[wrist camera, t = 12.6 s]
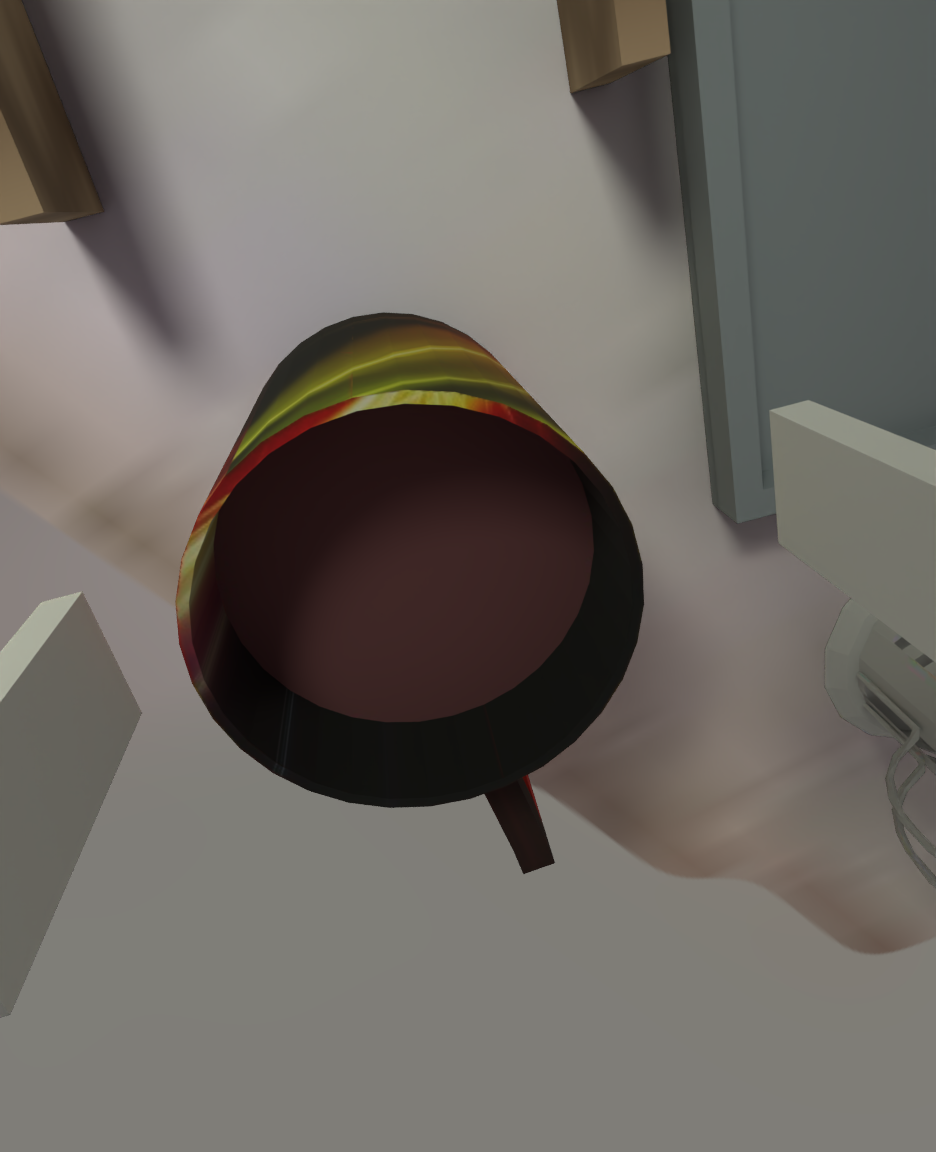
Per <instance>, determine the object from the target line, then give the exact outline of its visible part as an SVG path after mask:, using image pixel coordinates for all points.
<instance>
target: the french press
mask: <svg viewBox="0 0 936 1152" xmlns="http://www.w3.org/2000/svg"><path fill="white" fill-rule="evenodd" d="M825 689H826V690H827V692H828V694H829V696H830V698H831V700H832V702H833V704H834V705H835V707H836V709H837V711H838V713H839V715H840V717H841V718H843V719H845V720H846V721H848V722H850V723H851V724H853V725H854V726H856V727H858V728H859V729H861V730H862V731H864V732H866V733H867V734H869V735H875V736H884V737H893V738H895V739H896V740H897V741H898V742H899V743H900V744H901V745H902V746H901V747H900V748H899V749H898V750H897V751H896V752H895V753H894V754H893V756H892V759H891V762H890V765H889V768H888V772H887V775H886V778H885V779H886V785H887V791H888V797H889V800H890V802H891V804H892V806H893V808H892V813H893V818H894V824H895V829H896V833H897V835H898V837H899V839H900V841H901V843H902V845H903V847H904V849H905V851H906V853H907V854H908V855H909V857H910V858H911V859H912V861H913V862H914V863H915V865H916V866H917V867H918V869H919V870H920V871H921V872H922V874H923V875H924V876H925V878H926V879H927V880H928V882H929V883H930V884H931V885H933V886H934V887H935V888H936V876H935V875H934V874H933V873H932V872H931V871H930V870H929V868H928V867H927V866H926V865H925V864H924V863H923V862H922V860H921V859H920V858H919V857H918V856H917V855H916V854H915V852H914V851H913V849H912V847H911V844H910V842H909V840H908V838H907V836H906V834H905V831H904V826H905V827H906V828H907V830H908V831H909V832H910V833H911V834H912V835H913V836H914V837H915V838H916V839H917V840H918V841H919V843H920V844H921V845H922V846H923V847H924V848H925V849H926V850H927V851H928V852H929V853H931V854H932V855H933V856H934V857H936V848H935V847H934V846H933V845H932V844H931V843H930V842H929V841H928V840H927V839H926V838H925V837H924V835H923V834H922V833H921V832H920V831H919V830H918V829H917V828H916V827H915V825H914V824H913V823H912V822H911V821H910V819H909V818H908V817H907V816H906V814H905V813H904V812H903V810H902V805H903V802H904V799H905V796H906V793H907V792H908V790H909V789H910V788H911V787H912V786H913V785H914V784H915V783H916V782H917V780H918V779H919V778H920V777H921V776H922V775H923V774H924V773H925V765H926V766H927V767H928V768H929V769H930V770H931V771H932V772H933V773H934V774H935V775H936V758H934V757H931V756H929V755H926V754H924V753H923V752H922V751H921V750H920V749H919V748H922V749H924V750H927V751H929V752H932V753H935V754H936V663H935V662H934V661H933V660H931V659H930V658H929V657H928V656H926V655H925V654H924V653H922V652H921V651H920V650H918V649H917V648H916V647H914V646H913V645H912V644H910V643H909V642H908V641H907V640H905V639H904V638H903V637H901V636H900V635H899V634H897V633H896V632H895V631H893V630H892V629H891V628H889V627H888V626H887V625H886V624H884V623H883V622H882V621H880V620H879V619H878V618H876V617H875V616H874V615H872V614H871V613H870V612H868V611H867V610H866V609H865V608H863V607H862V606H861V605H859V604H858V603H857V602H855V601H854V600H853V599H850V600H849V601H848V602H847V603H846V605H845V606H844V607H843V608H842V611H841V613H840V615H839V618H838V620H837V622H836V625H835V627H834V629H833V632H832V634H831V636H830V639H829V641H828V643H827V645H826V648H825ZM918 747H919V748H918ZM907 752H909V753H910V754H911V755H912V756H913V757H914V758H915V759H916V760H917V762H918V763H919V766H918V767H917V768H916V769H915V770H914V771H913V773H912V774H911V775H910V776H909V777H908V778H907V780H906V781H905V782H904V783H903V784H902V786H901V787H900V788H899V790H898V793H897V790H896V786H895V782H894V778H893V776H894V773H895V769H896V767H897V764H898V762H899V760H900V759H901V758H902V757H903V756H904V755H905V754H906V753H907ZM903 825H904V826H903Z"/></svg>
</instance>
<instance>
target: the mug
mask: <svg viewBox="0 0 936 1152" xmlns="http://www.w3.org/2000/svg"><path fill="white" fill-rule="evenodd" d="M643 606H644V594H643V567H642V561H641V557H640V553H639V549H638V545H637V541H636V538H635V534H634V530H633V526H632V523H631V521H630V520H629V518H628V516H627V514H626V512H625V510H624V508H623V506H622V504H621V502H620V500H619V498H618V496H617V494H616V492H615V490H614V489H613V487H612V486H611V484H610V483H609V482H608V481H607V480H606V478H605V477H604V476H603V475H602V474H601V472H600V471H599V470H598V469H597V468H596V466H595V465H594V464H593V463H592V462H591V460H590V459H589V458H588V457H587V456H586V455H585V453H584V452H583V451H582V450H581V449H580V448H579V447H578V446H577V445H576V444H575V443H574V442H573V441H572V439H571V438H570V437H569V436H568V435H567V434H566V433H565V432H564V431H563V430H562V429H561V428H560V427H559V426H558V425H557V424H556V422H555V421H554V420H553V419H552V418H551V417H550V416H549V415H548V414H547V413H546V412H545V411H544V410H543V409H542V408H541V406H540V405H539V404H538V403H537V402H536V401H535V400H534V399H533V398H532V397H531V396H530V395H529V394H528V393H527V392H526V391H525V389H524V388H523V387H522V386H521V385H520V384H519V383H518V382H517V381H516V380H515V379H514V378H513V377H512V376H511V375H510V373H509V372H508V371H507V370H506V369H505V368H504V367H503V366H502V365H501V364H500V363H499V362H498V361H497V360H496V359H495V358H494V356H493V355H492V354H491V353H490V352H488V351H487V350H486V349H485V348H483V347H482V346H481V345H480V344H478V343H477V342H476V341H474V340H473V339H472V338H471V337H469V336H468V335H467V334H465V333H463V332H461V331H459V330H457V329H454V328H452V327H450V326H448V325H446V324H444V323H442V322H440V321H436V320H432V319H429V318H425V317H421V316H417V315H413V314H399V313H377V314H370V315H364V316H357V317H352V318H349V319H347V320H344V321H341V322H339V323H336V324H333V325H330V326H328V327H325V328H324V329H322V330H320V331H319V332H317V333H316V334H314V335H312V336H311V337H309V338H308V339H306V340H305V341H303V342H301V343H300V344H299V345H298V346H297V347H296V348H295V349H294V350H293V351H292V352H291V353H290V354H289V355H288V356H287V357H286V358H285V359H284V360H283V361H282V362H281V363H279V365H278V366H277V368H276V369H275V371H274V372H273V374H272V375H271V377H270V378H269V380H268V381H267V383H266V385H265V386H264V388H263V389H262V391H261V393H260V395H259V397H258V399H257V401H256V403H255V405H254V407H253V409H252V411H251V413H250V415H249V417H248V419H247V421H246V423H245V425H244V427H243V429H242V431H241V433H240V435H239V437H238V439H237V441H236V442H235V444H234V446H233V448H232V450H231V452H230V454H229V456H228V458H227V460H226V462H225V464H224V466H223V468H222V470H221V472H220V474H219V476H218V478H217V480H216V482H215V484H214V486H213V488H212V490H211V492H210V494H209V496H208V498H207V499H206V501H205V503H204V505H203V507H202V509H201V511H200V513H199V515H198V517H197V520H196V523H195V525H194V528H193V530H192V533H191V536H190V538H189V541H188V543H187V546H186V549H185V551H184V554H183V556H182V559H181V566H180V573H179V581H178V588H177V595H176V613H177V624H178V635H179V645H180V648H181V651H182V654H183V657H184V660H185V663H186V666H187V669H188V672H189V675H190V678H191V681H192V684H193V686H194V687H195V689H196V691H197V692H198V694H199V696H200V698H201V699H202V701H203V703H204V704H205V706H206V707H207V709H208V711H209V713H210V715H211V716H212V718H213V719H214V720H215V721H216V723H217V724H218V725H219V726H220V727H221V728H222V729H223V730H224V731H225V732H226V733H227V735H228V736H229V737H230V738H231V739H232V740H233V741H234V742H235V743H236V745H237V746H238V747H239V748H240V749H241V750H243V751H244V752H246V753H247V754H248V755H249V756H251V757H252V758H254V759H255V760H256V761H258V762H259V763H260V764H262V765H263V766H264V767H266V768H267V769H268V770H270V771H271V772H272V773H274V774H276V775H278V776H280V777H282V778H284V779H286V780H288V781H290V782H292V783H294V784H296V785H298V786H300V787H302V788H304V789H306V790H309V791H311V792H315V793H318V794H321V795H325V796H329V797H332V798H335V799H338V800H342V801H345V802H348V803H356V804H364V805H372V806H380V807H389V808H391V807H392V808H394V807H424V806H434V805H440V804H445V803H450V802H456V801H461V800H466V799H471V798H474V797H476V796H479V795H482V794H485V796H486V798H487V799H488V802H489V803H490V805H491V807H492V809H493V811H494V813H495V815H496V817H497V819H498V821H499V823H500V825H501V827H502V829H503V831H504V833H505V835H506V837H507V839H508V841H509V842H510V845H511V847H512V849H513V851H514V853H515V855H516V858H517V860H518V862H519V865H520V867H521V869H522V872H523V874H525V873H528V872H531V871H534V870H536V869H539V868H542V867H545V866H548V865H551V864H554V863H555V862H554V859H553V856H552V852H551V849H550V846H549V842H548V839H547V837H546V832H545V829H544V826H543V823H542V819H541V816H540V813H539V810H538V806H537V803H536V800H535V797H534V793H533V790H532V787H531V783H530V780H529V777H528V774H530V773H532V772H533V771H535V770H537V769H539V768H541V767H543V766H544V765H545V764H547V763H548V762H549V761H551V760H552V759H553V758H554V757H556V756H557V755H558V754H560V753H561V752H562V751H564V750H565V749H566V748H567V747H569V746H570V745H571V744H573V743H574V742H575V741H576V740H577V739H578V738H579V737H580V736H581V735H582V733H583V732H584V731H585V730H586V729H587V728H588V727H589V726H590V725H591V724H592V723H593V721H594V720H595V719H596V718H597V717H598V716H599V715H600V714H601V713H602V711H603V710H604V708H605V706H606V705H607V703H608V702H609V700H610V699H611V697H612V695H613V694H614V692H615V691H616V689H617V687H618V686H619V684H620V683H621V681H622V680H623V677H624V675H625V672H626V670H627V667H628V665H629V662H630V659H631V657H632V654H633V652H634V649H635V647H636V644H637V640H638V634H639V629H640V623H641V617H642V612H643Z"/></svg>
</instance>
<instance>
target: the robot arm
mask: <svg viewBox="0 0 936 1152" xmlns="http://www.w3.org/2000/svg"><path fill="white" fill-rule="evenodd" d="M769 414H770V429H771V443H772V458H773V472H774V487H775V501H776V515H777V530H778V543H779V544H781V545H782V546H783V547H784V548H786V549H787V550H788V551H790V552H791V553H792V554H794V555H795V556H796V557H798V558H799V559H800V560H802V561H803V562H804V563H805V564H807V565H808V566H809V567H811V568H812V569H813V570H815V571H816V572H817V573H819V574H820V575H821V576H823V577H824V578H825V579H826V580H828V581H829V582H830V583H832V584H833V585H834V586H836V587H837V588H838V589H840V590H841V591H842V592H844V593H845V594H846V595H847V596H849V597H850V598H851V599H853V600H854V601H855V602H857V603H858V604H859V605H861V606H862V607H863V608H865V609H866V610H867V611H868V612H870V613H871V614H872V615H874V616H875V617H876V618H878V619H879V620H880V621H882V622H883V623H884V624H886V625H887V626H888V627H889V628H891V629H892V630H893V631H895V632H896V633H897V634H899V635H900V636H901V637H903V638H904V639H905V640H907V641H908V642H909V643H910V644H912V645H913V646H914V647H916V648H917V649H918V650H920V651H921V652H922V653H924V654H925V655H926V656H928V657H929V658H930V659H931V660H933V661H934V662H935V663H936V450H934V449H931V448H929V447H926V446H924V445H921V444H919V443H916V442H914V441H911V440H909V439H906V438H904V437H901V436H898V435H896V434H893V433H891V432H888V431H886V430H883V429H881V428H878V427H876V426H873V425H871V424H868V423H866V422H863V421H861V420H858V419H855V418H853V417H850V416H848V415H845V414H843V413H840V412H838V411H835V410H833V409H830V408H828V407H825V406H823V405H820V404H817V403H815V402H812V401H810V400H807V401H803V402H799V403H795V404H791V405H788V406H784V407H780V408H776V409H772V410H769ZM141 714H142V712H141V710H140V708H139V707H138V704H137V702H136V700H135V698H134V696H133V694H132V692H131V690H130V688H129V686H128V684H127V682H126V680H125V678H124V676H123V674H122V672H121V670H120V668H119V666H118V663H117V661H116V659H115V657H114V655H113V654H112V651H111V649H110V647H109V645H108V643H107V641H106V639H105V637H104V635H103V633H102V631H101V629H100V627H99V625H98V623H97V621H96V619H95V617H94V615H93V613H92V611H91V608H90V606H89V605H88V602H87V600H86V598H85V597H84V594H83V592H79V593H75V594H71V595H67V596H63V597H60V598H56V599H52V600H48V601H45V602H41V603H40V605H39V606H38V607H37V608H36V609H35V611H34V612H33V613H32V614H31V615H30V617H29V618H28V619H27V620H26V622H25V623H24V624H23V625H22V626H21V628H20V629H19V630H18V631H17V633H16V634H15V635H14V636H13V637H12V638H11V640H10V641H9V642H8V643H7V644H6V646H5V647H4V648H3V649H2V651H1V652H0V1018H1V1017H4V1016H8V1015H10V1014H11V1012H12V1010H13V1007H14V1005H15V1003H16V1000H17V998H18V996H19V993H20V991H21V989H22V986H23V984H24V982H25V980H26V977H27V975H28V973H29V971H30V968H31V966H32V964H33V961H34V959H35V957H36V954H37V952H38V950H39V948H40V945H41V943H42V941H43V939H44V936H45V934H46V931H47V929H48V927H49V925H50V922H51V920H52V918H53V916H54V913H55V911H56V909H57V906H58V904H59V901H60V900H61V897H62V895H63V892H64V890H65V888H66V886H67V884H68V881H69V879H70V877H71V874H72V872H73V870H74V867H75V865H76V863H77V861H78V858H79V856H80V854H81V851H82V849H83V847H84V845H85V842H86V840H87V837H88V835H89V833H90V831H91V828H92V826H93V824H94V822H95V819H96V817H97V815H98V812H99V810H100V808H101V805H102V803H103V801H104V799H105V796H106V794H107V792H108V790H109V787H110V785H111V783H112V780H113V778H114V776H115V773H116V771H117V769H118V766H119V764H120V762H121V760H122V757H123V755H124V753H125V751H126V748H127V746H128V744H129V741H130V739H131V737H132V734H133V732H134V730H135V728H136V725H137V723H138V721H139V718H140V716H141Z"/></svg>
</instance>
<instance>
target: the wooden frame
mask: <svg viewBox="0 0 936 1152" xmlns="http://www.w3.org/2000/svg"><path fill="white" fill-rule="evenodd" d="M557 5H558V12H559V18H560V25H561V32H562V39H563V45H564V52H565V59H566V66H567V72H568V79H569V86H570V93H573V92H577V91H581V90H585V89H589V88H593V87H597V86H601V85H605V84H609V83H611V82H613V81H616V80H618V79H620V78H622V77H624V76H626V75H628V74H630V73H632V72H634V71H636V70H638V69H640V68H642V67H644V66H646V65H648V64H650V63H652V62H654V61H656V60H658V59H660V58H662V57H664V56H667V55H669V54H671V51H670V40H669V30H668V20H667V10H666V0H557ZM101 212H104V210H103V207H102V205H101V202H100V200H99V197H98V194H97V192H96V189H95V187H94V184H93V182H92V179H91V177H90V174H89V171H88V169H87V166H86V164H85V161H84V159H83V156H82V154H81V151H80V149H79V146H78V143H77V141H76V138H75V136H74V133H73V131H72V128H71V126H70V123H69V120H68V118H67V115H66V113H65V110H64V108H63V105H62V103H61V100H60V97H59V95H58V92H57V90H56V87H55V85H54V82H53V80H52V77H51V75H50V72H49V69H48V67H47V64H46V62H45V59H44V57H43V54H42V52H41V49H40V46H39V44H38V41H37V39H36V36H35V34H34V31H33V29H32V26H31V23H30V21H29V18H28V16H27V13H26V11H25V8H24V6H23V3H22V1H21V0H0V225H8V224H30V223H51V222H65V221H69V220H73V219H77V218H81V217H85V216H89V215H93V214H97V213H101Z"/></svg>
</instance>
